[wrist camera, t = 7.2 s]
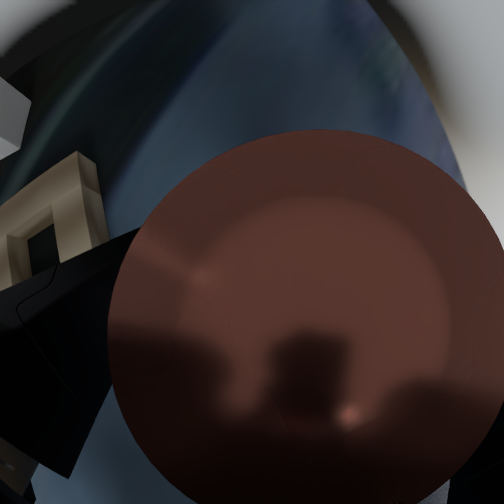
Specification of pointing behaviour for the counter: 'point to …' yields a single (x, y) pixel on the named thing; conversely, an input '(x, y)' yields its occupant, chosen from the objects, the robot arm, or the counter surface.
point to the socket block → (52, 216)
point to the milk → (12, 118)
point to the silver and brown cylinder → (310, 325)
